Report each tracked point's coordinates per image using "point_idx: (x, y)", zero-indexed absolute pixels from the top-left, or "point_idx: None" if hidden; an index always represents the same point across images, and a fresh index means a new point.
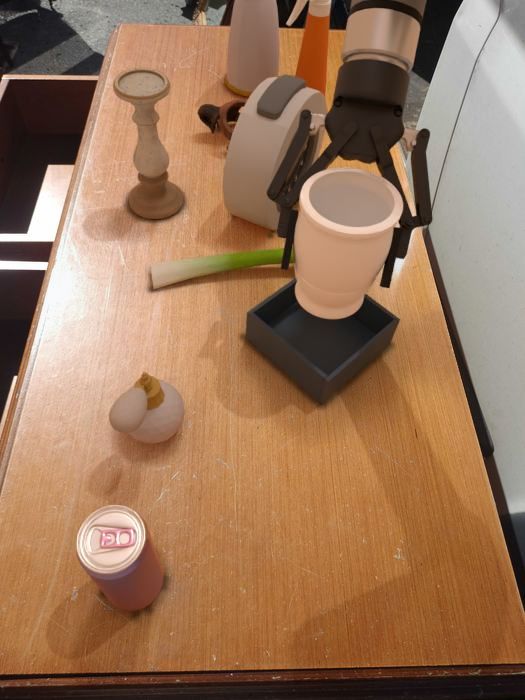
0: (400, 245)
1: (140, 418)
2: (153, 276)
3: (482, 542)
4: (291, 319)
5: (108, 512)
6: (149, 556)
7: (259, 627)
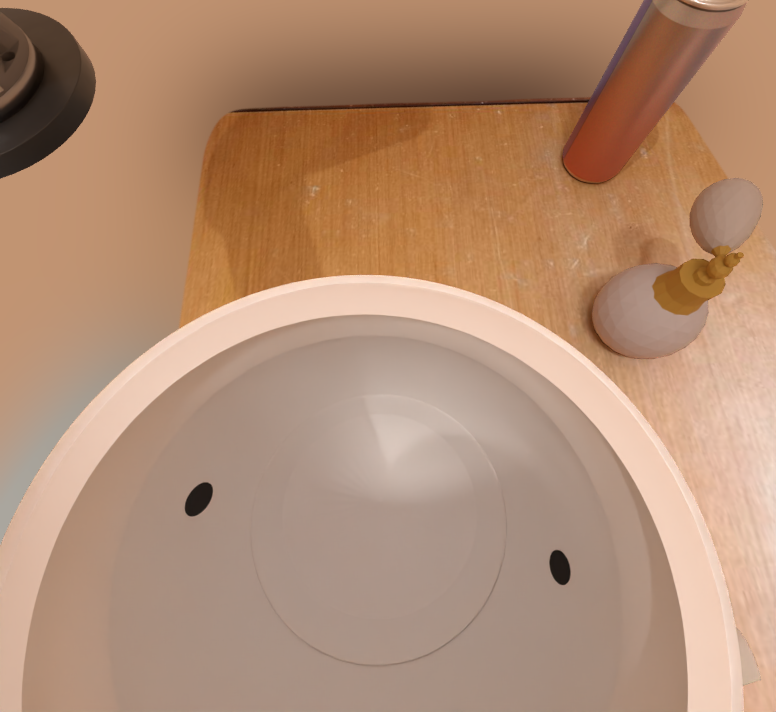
0: None
1: (704, 196)
2: (740, 635)
3: (216, 202)
4: None
5: (726, 2)
6: (635, 19)
7: (460, 132)
